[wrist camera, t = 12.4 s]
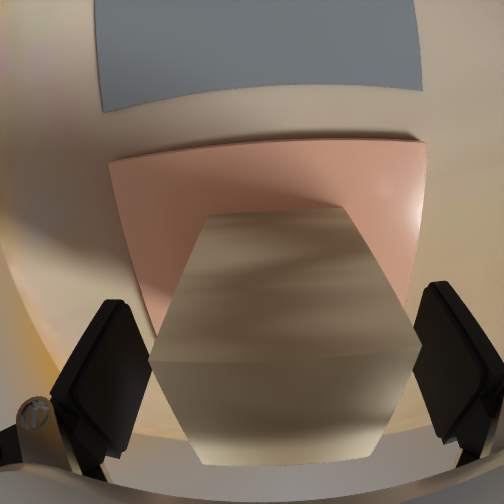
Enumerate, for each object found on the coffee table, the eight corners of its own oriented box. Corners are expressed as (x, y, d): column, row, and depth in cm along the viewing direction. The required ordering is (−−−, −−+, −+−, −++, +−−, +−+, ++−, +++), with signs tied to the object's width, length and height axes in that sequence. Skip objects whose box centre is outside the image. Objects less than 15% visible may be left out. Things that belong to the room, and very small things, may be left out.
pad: (420, 140, 10) (427, 143, 10) (391, 336, 15) (394, 344, 14) (114, 160, 11) (107, 163, 10) (167, 348, 16) (164, 355, 15)
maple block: (343, 207, 11) (422, 345, 5) (336, 313, 13) (369, 456, 7) (208, 215, 11) (148, 360, 5) (225, 319, 14) (202, 464, 8)
